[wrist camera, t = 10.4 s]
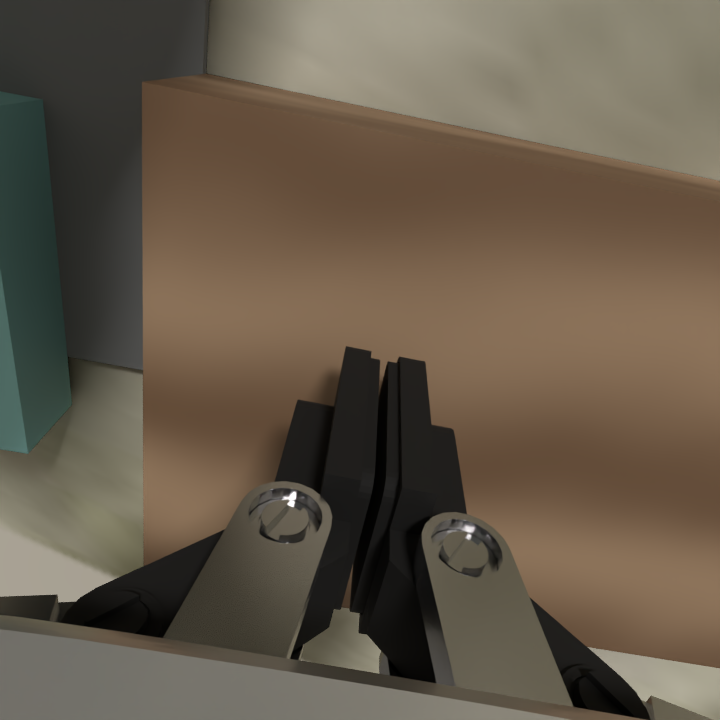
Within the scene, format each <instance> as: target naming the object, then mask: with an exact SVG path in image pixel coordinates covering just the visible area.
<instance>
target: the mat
mask: <svg viewBox="0 0 720 720" xmlns="http://www.w3.org/2000/svg"><path fill="white" fill-rule="evenodd" d="M209 2H210V0H0V91H1V92H6V93H11V94H17V95H22V96H27V97H33V98H38V99H43V107H44V117H45V128H46V138H47V149H48V159H49V170H50V180H51V190H52V201H53V211H54V222H55V232H56V243H57V253H58V263H59V274H60V284H61V295H62V305H63V315H64V326H65V336H66V347H67V357H72V358H78V359H83V360H89V361H94V362H100V363H105V364H111V365H116V366H122V367H128V368H133V369H139V370H143V242H142V82H144V81H152V80H160V79H168V78H176V77H184V76H192V75H200V74H206V67H207V45H208V24H209Z"/></svg>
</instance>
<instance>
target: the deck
mask: <svg viewBox="0 0 720 720" xmlns="http://www.w3.org/2000/svg"><path fill="white" fill-rule="evenodd" d="M142 242H143V495H144V566H145V565H148V564H150V563H152V562H154V561H156V560H159V559H161V558H163V557H165V556H167V555H169V554H172V553H174V552H176V551H178V550H180V549H183V548H185V547H187V546H189V545H191V544H194V543H196V542H198V541H200V540H202V539H204V538H207V537H209V536H211V535H213V534H215V533H218V532H220V531H222V530H224V529H225V528H226V527H227V525H228V523H229V521H230V520H231V518H232V516H233V514H234V513H235V511H236V509H237V507H238V506H239V504H240V502H241V501H242V499H243V498H244V497H245V496H246V495H247V494H248V492H250V491H251V490H253V489H255V488H256V487H258V486H260V485H263V484H267V483H270V482H275V478H276V475H277V471H278V467H279V464H280V460H281V457H282V453H283V449H284V446H285V442H286V439H287V435H288V431H289V428H290V424H291V421H292V417H293V413H294V410H295V406H296V403H297V400H298V399H299V400H304V401H309V402H315V403H320V404H325V405H330V406H334V402H335V397H336V392H337V387H338V382H339V377H340V372H341V367H342V362H343V357H344V352H345V348H346V346H348V347H353V348H358V349H363V350H369V351H371V358H374V359H379V360H380V377H379V393H380V389H381V385H382V381H383V377H384V373H385V369H386V365H387V362H388V361H390V362H395V363H397V360H398V358H399V356H400V357H405V358H410V359H415V360H420V361H425V363H426V373H427V383H428V393H429V403H430V414H431V424H432V425H436V426H442V427H447V428H452V429H453V430H454V434H455V439H456V446H457V452H458V459H459V465H460V472H461V478H462V485H463V491H464V498H465V504H466V511H467V514H469V515H471V516H474V517H476V518H478V519H481V520H483V521H484V522H486V523H487V524H489V525H490V526H492V527H493V528H494V529H495V530H496V531H497V532H498V533H499V534H500V535H501V536H502V537H503V538H504V540H505V541H506V543H507V545H508V546H509V548H510V550H511V553H512V555H513V558H514V560H515V563H516V565H517V568H518V570H519V573H520V575H521V577H522V580H523V582H524V585H525V587H526V590H527V592H528V595H529V597H530V598H531V599H532V600H534V601H535V602H536V603H537V604H538V605H539V606H540V607H542V608H543V609H544V610H545V611H546V612H547V613H548V614H550V615H551V616H552V617H553V618H554V619H555V620H556V621H558V622H559V623H560V624H561V625H562V626H563V627H564V628H566V629H567V630H568V631H569V632H570V633H571V634H573V635H574V636H575V637H576V638H577V639H578V640H579V641H581V642H582V643H583V644H584V645H585V646H586V647H592V648H598V649H604V650H610V651H616V652H623V653H629V654H635V655H641V656H647V657H654V658H660V659H666V660H672V661H678V662H684V663H691V664H697V665H703V666H709V667H715V668H720V181H716V180H712V179H707V178H702V177H697V176H693V175H688V174H683V173H678V172H673V171H669V170H664V169H659V168H654V167H650V166H645V165H640V164H635V163H630V162H626V161H621V160H616V159H611V158H607V157H602V156H597V155H592V154H587V153H583V152H578V151H573V150H568V149H564V148H559V147H554V146H549V145H544V144H540V143H535V142H530V141H525V140H521V139H516V138H511V137H506V136H502V135H497V134H492V133H487V132H482V131H478V130H473V129H468V128H463V127H459V126H454V125H449V124H444V123H439V122H435V121H430V120H425V119H420V118H416V117H411V116H406V115H401V114H396V113H392V112H387V111H382V110H377V109H373V108H368V107H363V106H358V105H353V104H349V103H344V102H339V101H334V100H330V99H325V98H320V97H315V96H310V95H306V94H301V93H296V92H291V91H287V90H282V89H277V88H272V87H268V86H263V85H258V84H253V83H248V82H244V81H239V80H234V79H229V78H225V77H220V76H215V75H210V74H200V75H192V76H184V77H176V78H168V79H160V80H152V81H144V82H142ZM352 570H353V566H352ZM352 570H351V573H350V577H349V581H348V584H347V588H346V592H345V596H344V599H343V603H342V607H344V608H350V595H351V582H352Z"/></svg>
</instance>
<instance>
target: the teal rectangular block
mask: <svg viewBox="0 0 720 720" xmlns="http://www.w3.org/2000/svg"><path fill="white" fill-rule="evenodd" d="M71 405H72V399H71V388H70V378H69V368H68V357H67V347H66V336H65V326H64V315H63V305H62V295H61V284H60V274H59V263H58V253H57V243H56V232H55V222H54V211H53V201H52V190H51V180H50V170H49V159H48V149H47V138H46V128H45V117H44V107H43V99H38V98H33V97H27V96H22V95H17V94H11V93H6V92H1V91H0V449H1V450H8V451H14V452H20V453H26V454H28V453H29V452H30V451H31V450H32V449H33V448H34V447H35V445H36V444H37V443H38V442H39V441H40V440H41V439H42V438H43V436H44V435H45V434H46V433H47V432H48V431H49V430H50V429H51V428H52V426H53V425H54V424H55V423H56V422H57V421H58V420H59V419H60V417H61V416H62V415H63V414H64V413H65V412H66V411H67V410H68V408H69V407H70V406H71Z"/></svg>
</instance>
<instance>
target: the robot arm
mask: <svg viewBox="0 0 720 720" xmlns="http://www.w3.org/2000/svg"><path fill="white" fill-rule="evenodd" d="M379 377H380V360H379V359H374V358H371V351H369V350H363V349H358V348H353V347H348V346H346V348H345V352H344V357H343V362H342V367H341V372H340V377H339V382H338V387H337V392H336V397H335V402H334V406H330V405H325V404H320V403H315V402H309V401H304V400H299V399H298V400H297V403H296V406H295V410H294V413H293V417H292V421H291V424H290V428H289V431H288V435H287V439H286V442H285V446H284V449H283V453H282V457H281V460H280V464H279V467H278V471H277V475H276V478H275V482H270V483H267V484H263V485H260V486H258V487H256V488H255V489H253V490H251V491H250V492H248V494H247V495H246V496H245V497H244V498H243V499H242V501H241V502H240V504H239V506H238V507H237V509H236V511H235V513H234V514H233V516H232V518H231V520H230V521H229V523H228V525H227V527H226V528H225V529H224V530H222V531H220V532H218V533H215V534H213V535H211V536H209V537H207V538H204V539H202V540H200V541H198V542H196V543H194V544H191V545H189V546H187V547H185V548H183V549H180V550H178V551H176V552H174V553H172V554H169V555H167V556H165V557H163V558H161V559H159V560H156V561H154V562H152V563H150V564H148V565H145V566H143V567H141V568H139V569H137V570H134V571H132V572H130V573H128V574H126V575H123V576H121V577H119V578H117V579H115V580H113V581H110V582H108V583H106V584H104V585H102V586H99V587H97V588H95V589H94V590H92V591H90V592H89V593H87V594H85V595H84V596H82V597H80V599H78V600H77V601H76V602H61V603H58V596H57V595H38V596H37V595H36V596H9V597H0V720H712V719H710V718H707V717H705V716H702V715H699V714H697V713H694V712H692V711H689V710H687V709H684V708H682V707H679V706H676V705H674V704H671V703H669V702H666V701H664V700H661V699H659V698H656V697H653V696H650V698H649V699H648V700H647V701H646V702H645V701H642V700H641V699H640V698H639V696H638V695H637V693H636V692H635V691H634V690H633V689H632V688H631V687H630V686H629V684H628V683H627V682H626V681H625V680H624V679H623V678H622V677H621V676H620V675H618V674H617V673H616V672H615V671H614V670H613V669H612V668H610V667H609V666H608V665H607V664H606V663H605V662H603V661H602V660H601V659H600V658H599V657H598V656H597V655H595V654H594V653H593V652H592V651H591V650H590V649H589V648H587V647H586V646H585V645H584V644H583V643H582V642H581V641H579V640H578V639H577V638H576V637H575V636H574V635H573V634H571V633H570V632H569V631H568V630H567V629H566V628H564V627H563V626H562V625H561V624H560V623H559V622H558V621H556V620H555V619H554V618H553V617H552V616H551V615H550V614H548V613H547V612H546V611H545V610H544V609H543V608H542V607H540V606H539V605H538V604H537V603H536V602H535V601H534V600H532V599H531V598H530V597H529V595H528V592H527V590H526V587H525V585H524V582H523V580H522V577H521V575H520V573H519V570H518V568H517V565H516V563H515V560H514V558H513V555H512V553H511V550H510V548H509V546H508V545H507V543H506V541H505V540H504V538H503V537H502V536H501V535H500V534H499V533H498V532H497V531H496V530H495V529H494V528H493V527H492V526H490V525H489V524H487V523H486V522H484V521H483V520H481V519H478V518H476V517H474V516H471V515H469V514H467V511H466V504H465V498H464V491H463V485H462V478H461V472H460V465H459V459H458V452H457V446H456V439H455V434H454V430H453V429H452V428H447V427H442V426H436V425H432V424H431V414H430V403H429V393H428V383H427V373H426V363H425V361H420V360H415V359H410V358H405V357H400V356H399V358H398V360H397V363H395V362H390V361H388V362H387V365H386V369H385V373H384V377H383V381H382V385H381V389H380V393H379ZM352 566H353V570H352ZM351 570H352V582H351V595H350V612H356V613H360V618H359V633H361V634H367V635H368V636H369V637H370V638H371V639H372V641H373V642H374V643H375V644H376V645H377V646H378V647H379V649H380V650H381V653H380V656H379V672H380V674H377V673H371V672H365V671H359V670H353V669H347V668H341V667H335V666H329V665H323V664H317V663H311V662H305V661H300V660H301V657H302V653H303V648H304V644H305V643H306V642H308V641H309V640H311V639H312V638H314V637H315V636H317V635H318V634H320V633H321V632H323V631H324V630H326V629H327V628H329V625H330V621H331V617H332V613H333V610H334V609H338V610H340V609H341V607H342V603H343V599H344V596H345V592H346V588H347V584H348V581H349V577H350V573H351Z"/></svg>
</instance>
